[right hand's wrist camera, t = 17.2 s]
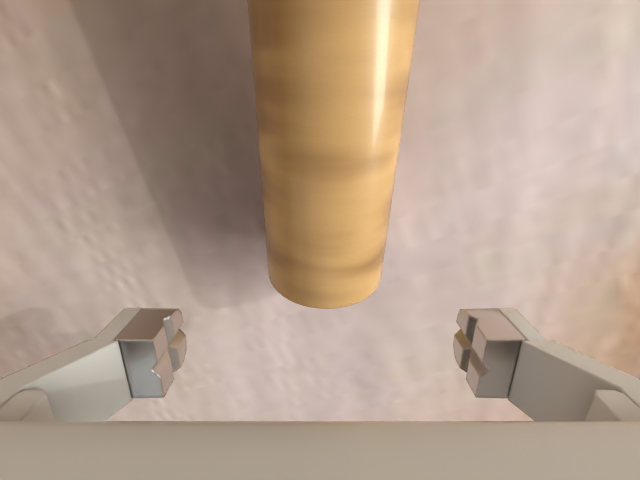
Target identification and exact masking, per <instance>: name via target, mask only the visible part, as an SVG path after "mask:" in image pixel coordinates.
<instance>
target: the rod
mask: <svg viewBox="0 0 640 480" xmlns="http://www.w3.org/2000/svg"><path fill="white" fill-rule="evenodd" d="M419 4H420V0H248V12H249V25H250V38H251V51H252V64H253V76H254V89H255V102H256V115H257V128H258V141H259V154H260V167H261V180H262V193H263V206H264V219H265V232H266V245H267V258H268V271H269V278H270V281H271V283H272V285H273V286H274V288H275V289H276V290H277V291H278V292H279V293H280V294H281V295H282V296H284V297H285V298H287V299H288V300H290V301H293V302H295V303H297V304H300V305H303V306H307V307H313V308H323V309H331V308H341V307H346V306H350V305H353V304H356V303H358V302H360V301H362V300H364V299H366V298H367V297H368V296H370V295H371V294H372V293H373V292H374V291H375V289H376V288H377V287H378V285H379V283H380V279H381V273H382V266H383V259H384V252H385V245H386V238H387V231H388V223H389V216H390V209H391V202H392V195H393V188H394V181H395V174H396V167H397V160H398V153H399V146H400V139H401V132H402V124H403V117H404V110H405V103H406V96H407V89H408V82H409V75H410V68H411V61H412V54H413V47H414V40H415V33H416V25H417V18H418V11H419Z"/></svg>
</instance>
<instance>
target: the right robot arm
mask: <svg viewBox="0 0 640 480" xmlns="http://www.w3.org/2000/svg"><path fill="white" fill-rule="evenodd" d="M182 323H183V317H182V312H181V311H180V310H179V309H164V308H126V309H123V310H122V311H121V312H120V313H119V314H118V315H117V316H116V317H115V318H114V319H113V320H112V321H111V322H110V323H109V324H108V325H107V326H106V327H105V328H104V329H103V330H102V331H101V332H100V333H99V334H98V335H97V336H96V337H95V338H94V339H93V340H92V341H85V342H82V343H80V344H78V345H76V346H73V347H71V348H69V349H67V350H64V351H62V352H60V353H58V354H55V355H53V356H51V357H49V358H47V359H44V360H42V361H40V362H38V363H35V364H33V365H31V366H29V367H26V368H24V369H22V370H20V371H17V372H15V373H13V374H11V375H8V376H6V377H4V378H2V379H0V480H640V379H638V378H636V377H634V376H631V375H629V374H627V373H625V372H622V371H620V370H618V369H616V368H613V367H611V366H609V365H607V364H605V363H602V362H600V361H598V360H596V359H593V358H591V357H589V356H587V355H584V354H582V353H580V352H578V351H575V350H573V349H571V348H569V347H567V346H564V345H562V344H560V343H558V342H555V341H548V340H547V339H546V338H545V337H544V336H543V335H542V334H541V333H540V332H539V331H538V330H537V329H536V328H535V327H534V326H533V325H532V324H531V323H530V322H529V321H528V320H527V319H526V318H525V317H524V316H523V315H522V314H521V313H520V312H519V311H518V310H517V309H514V308H492V309H460V311H459V313H458V317H457V323H458V325H459V327H460V328H461V329H460V330H459V331H458V332H457V333H456V334H455V335H454V343H453V347H454V355H455V359H456V362H457V364H458V365H459V367H460V368H461V369H462V370H464V371H465V372H467V375H466V380H467V382H468V384H469V386H470V388H471V389H472V391H473V393H474V395H475V397H479V398H508V400H509V401H510V402H511V403H513V404H514V405H515V406H517V407H518V408H519V409H520V410H522V411H523V412H524V413H525V414H527V415H528V416H529V417H530V418H532V419H533V420H534V421H106V420H107V419H108V418H110V417H111V416H112V415H113V414H115V413H116V412H117V411H119V410H120V409H121V408H122V407H124V406H125V405H126V404H127V403H129V402H130V401H131V400H132V398H160V397H165V395H166V393H167V391H168V389H169V388H170V386H171V384H172V382H173V380H174V375H173V372H175V371H176V370H178V369H179V368H180V367H181V365H182V364H183V362H184V359H185V354H186V344H187V342H186V335H185V334H184V333H183V332H182V331H181V330H180V329H179V328H180V327H181V325H182Z"/></svg>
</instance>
